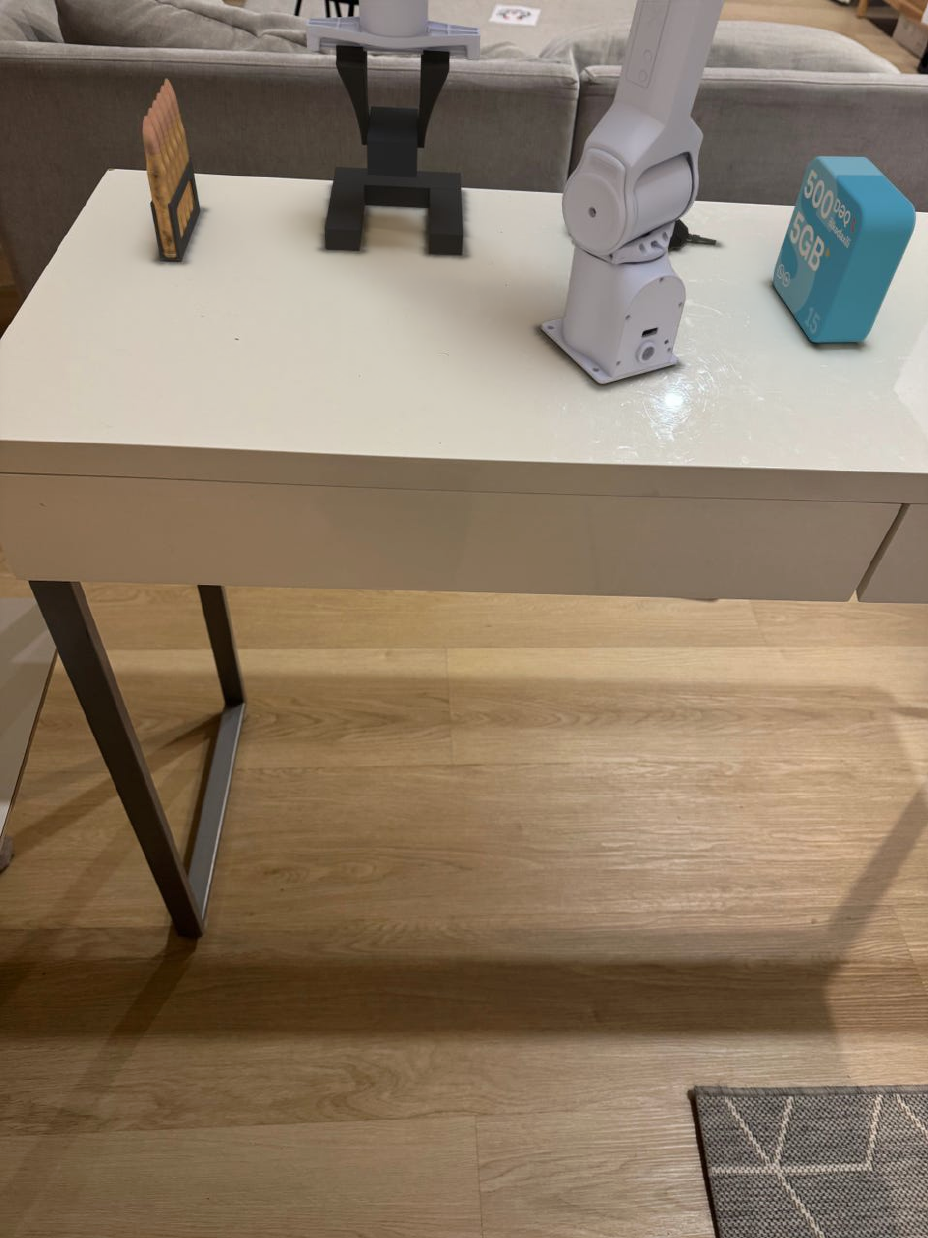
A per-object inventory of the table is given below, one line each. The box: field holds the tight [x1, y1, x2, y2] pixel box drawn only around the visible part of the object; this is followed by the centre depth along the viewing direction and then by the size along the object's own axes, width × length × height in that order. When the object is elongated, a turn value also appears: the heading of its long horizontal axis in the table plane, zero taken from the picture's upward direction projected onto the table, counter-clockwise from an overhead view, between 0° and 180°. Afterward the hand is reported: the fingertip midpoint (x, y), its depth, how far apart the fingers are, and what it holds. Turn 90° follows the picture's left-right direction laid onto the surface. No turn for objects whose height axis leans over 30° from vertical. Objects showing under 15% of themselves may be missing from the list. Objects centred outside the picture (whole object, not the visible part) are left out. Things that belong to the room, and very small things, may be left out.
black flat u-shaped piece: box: [324, 166, 464, 256], centre depth 90 cm, size 14×13×2 cm
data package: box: [773, 155, 917, 343], centre depth 78 cm, size 12×4×12 cm, turn 6°
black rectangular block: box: [366, 105, 419, 177], centre depth 82 cm, size 8×4×3 cm, turn 1°
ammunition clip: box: [142, 78, 201, 262], centre depth 82 cm, size 11×2×12 cm, turn 1°
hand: (393, 142), depth 82 cm, fingers closed on black rectangular block, 4 cm apart
